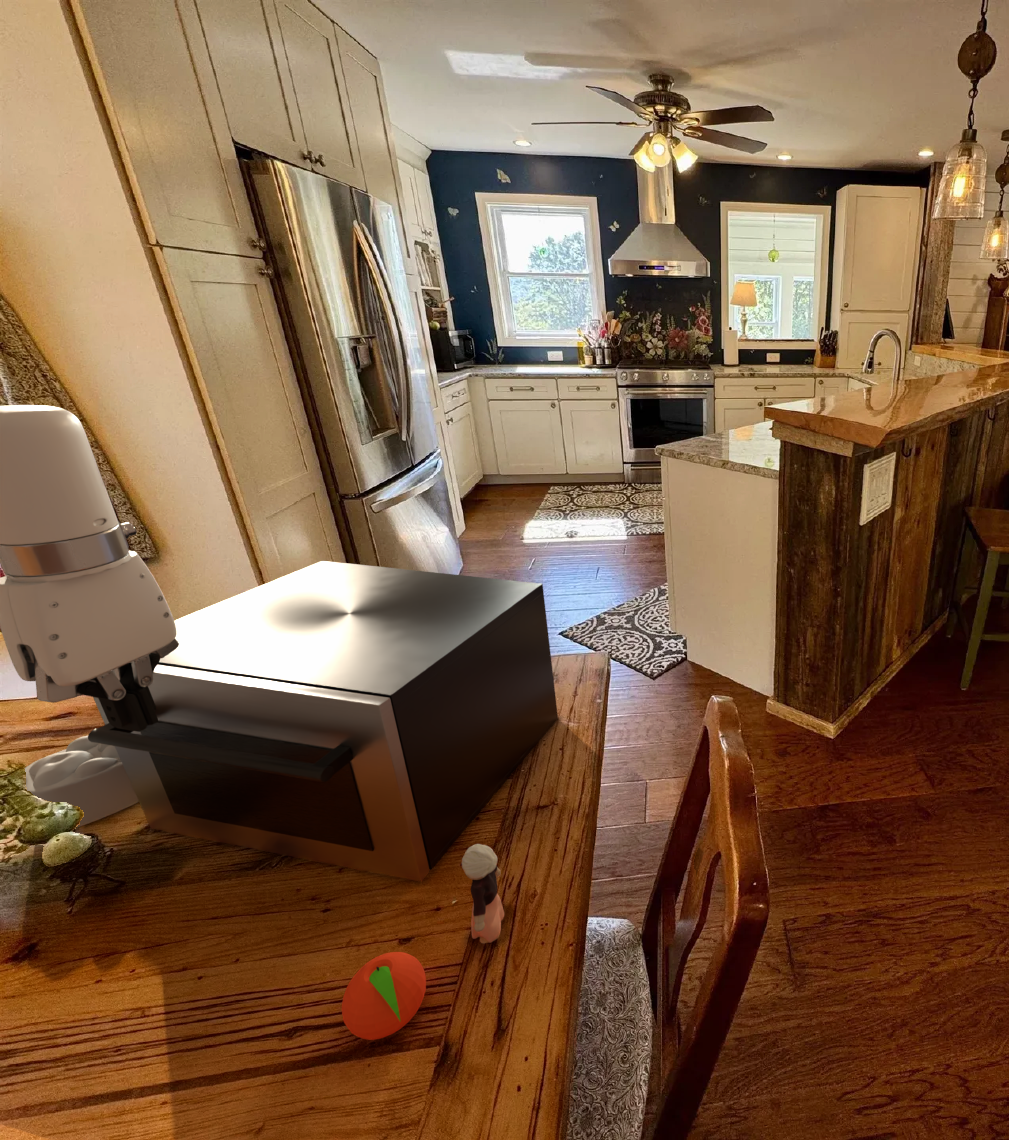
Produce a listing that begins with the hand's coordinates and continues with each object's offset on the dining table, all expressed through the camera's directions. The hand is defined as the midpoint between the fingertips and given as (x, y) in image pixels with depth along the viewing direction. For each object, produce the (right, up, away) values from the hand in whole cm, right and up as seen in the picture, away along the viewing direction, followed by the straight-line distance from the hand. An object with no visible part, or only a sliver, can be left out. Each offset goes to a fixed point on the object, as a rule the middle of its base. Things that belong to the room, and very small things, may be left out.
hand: (137, 725), depth 60 cm
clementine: (+26, -29, -1) cm, 39 cm away
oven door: (+1, -21, +15) cm, 26 cm away
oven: (+4, -15, +33) cm, 36 cm away
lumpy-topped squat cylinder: (-30, -17, +25) cm, 43 cm away
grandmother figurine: (+32, -26, +8) cm, 42 cm away
